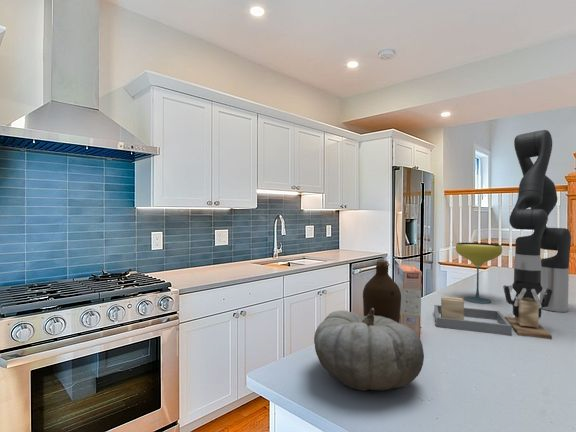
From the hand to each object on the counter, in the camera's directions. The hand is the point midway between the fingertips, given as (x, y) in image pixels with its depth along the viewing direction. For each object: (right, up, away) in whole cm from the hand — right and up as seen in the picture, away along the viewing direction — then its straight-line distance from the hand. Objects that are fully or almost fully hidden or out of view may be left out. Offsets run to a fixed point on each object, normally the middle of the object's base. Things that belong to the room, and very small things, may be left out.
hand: (526, 317), depth 117 cm
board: (0, -4, 0) cm, 4 cm away
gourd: (-63, -4, -36) cm, 73 cm away
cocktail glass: (+4, -3, +37) cm, 37 cm away
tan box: (0, -2, 0) cm, 2 cm away
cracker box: (-41, -4, -4) cm, 42 cm away
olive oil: (-54, -4, -18) cm, 57 cm away
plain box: (-22, -3, +7) cm, 23 cm away
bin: (-17, -3, +5) cm, 18 cm away
